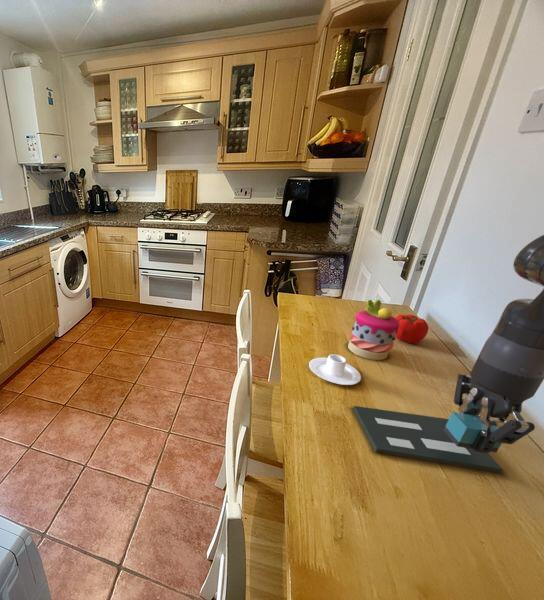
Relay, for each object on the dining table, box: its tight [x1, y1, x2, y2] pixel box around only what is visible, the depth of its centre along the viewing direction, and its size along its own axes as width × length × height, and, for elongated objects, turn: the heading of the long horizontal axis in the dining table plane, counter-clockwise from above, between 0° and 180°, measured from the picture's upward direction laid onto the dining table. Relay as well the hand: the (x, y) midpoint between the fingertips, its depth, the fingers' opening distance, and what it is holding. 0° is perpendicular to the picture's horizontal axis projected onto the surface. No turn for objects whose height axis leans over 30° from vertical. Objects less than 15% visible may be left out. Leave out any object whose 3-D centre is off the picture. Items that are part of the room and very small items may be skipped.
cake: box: [347, 299, 400, 361], centre depth 91 cm, size 10×11×15 cm
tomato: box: [394, 313, 429, 344], centre depth 99 cm, size 9×9×8 cm
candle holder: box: [308, 353, 362, 386], centre depth 83 cm, size 12×12×4 cm
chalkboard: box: [352, 405, 504, 474], centre depth 64 cm, size 20×12×1 cm, turn 77°
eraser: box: [444, 411, 503, 453], centre depth 58 cm, size 6×4×4 cm, turn 77°
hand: (469, 439), depth 59 cm, fingers closed on eraser, 4 cm apart
